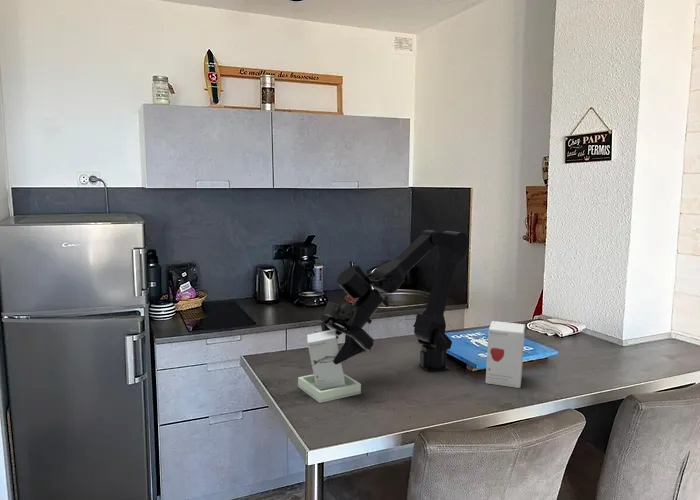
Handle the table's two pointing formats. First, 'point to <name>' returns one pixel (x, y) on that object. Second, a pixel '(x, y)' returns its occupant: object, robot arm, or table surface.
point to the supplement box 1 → (325, 359)
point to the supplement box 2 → (505, 354)
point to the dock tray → (329, 389)
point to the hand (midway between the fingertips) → (325, 358)
